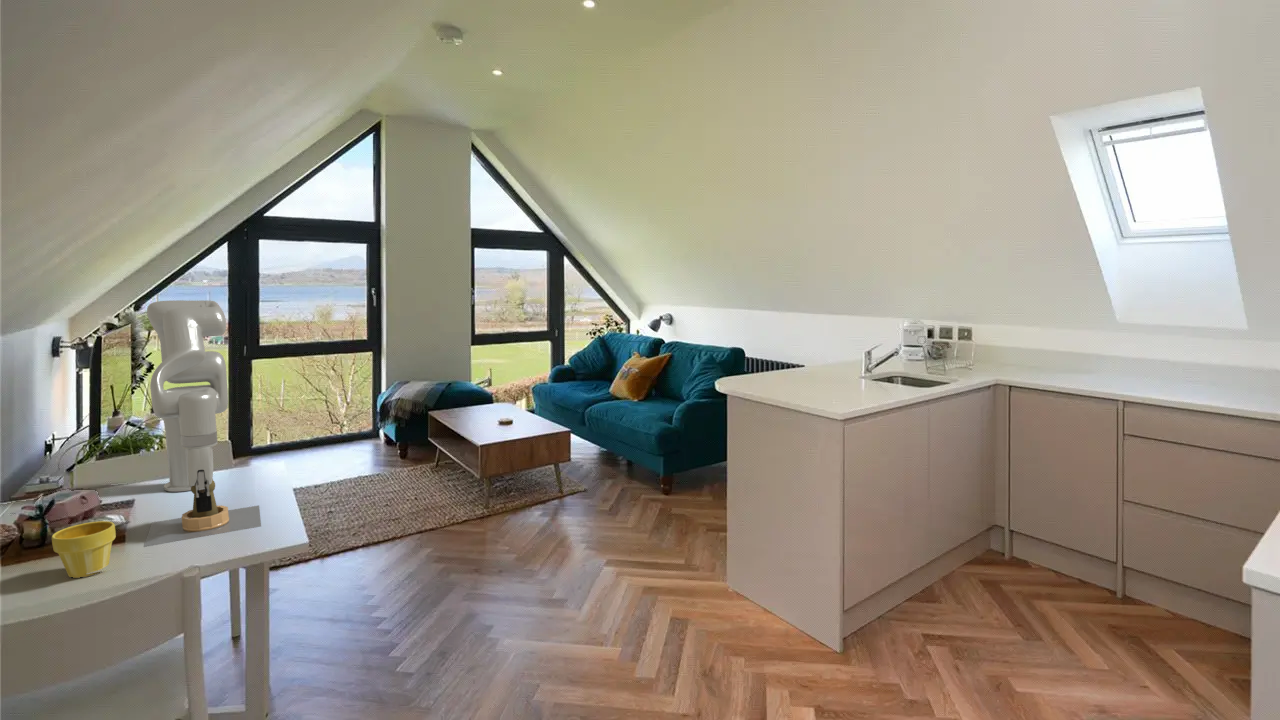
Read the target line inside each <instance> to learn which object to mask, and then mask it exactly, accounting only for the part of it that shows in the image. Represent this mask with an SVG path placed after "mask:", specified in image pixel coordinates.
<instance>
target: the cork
mask: <svg viewBox="0 0 1280 720" xmlns="http://www.w3.org/2000/svg"><path fill="white" fill-rule="evenodd" d="M204 483H205V484H207V482H204ZM205 488H206V489H207V487H205ZM215 489H216V482H215V481H214V479H213V480H212V483H211V484H210V485H209V492H210V495H211V502H212V510H211V511H206V512H200V513H198V512H197V509H196V483H195V485H194V486H192V487H191V490H190V491H191V493H192V494H193V505H192V506H193V507H192V510H193V514H192V518H201V517H207V516H212V515H215V514H218V509H217V506H218V505H217V501H216V498H215V494H214V491H215Z"/></svg>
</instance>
